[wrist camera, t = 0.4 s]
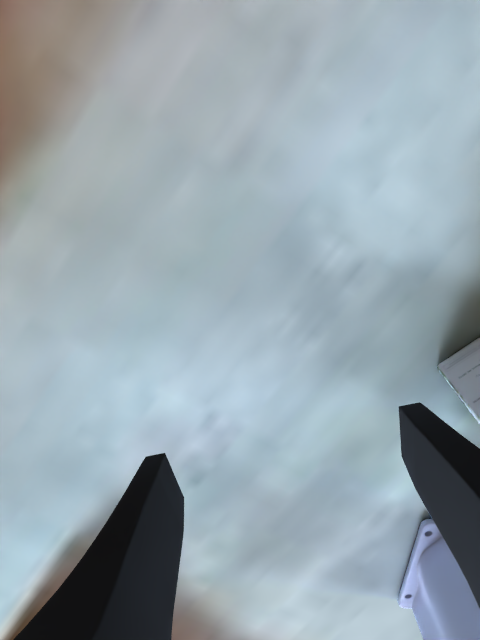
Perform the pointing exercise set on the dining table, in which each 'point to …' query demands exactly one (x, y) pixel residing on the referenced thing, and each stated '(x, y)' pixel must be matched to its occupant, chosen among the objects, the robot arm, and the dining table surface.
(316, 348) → the dining table surface
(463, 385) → the syrup box
